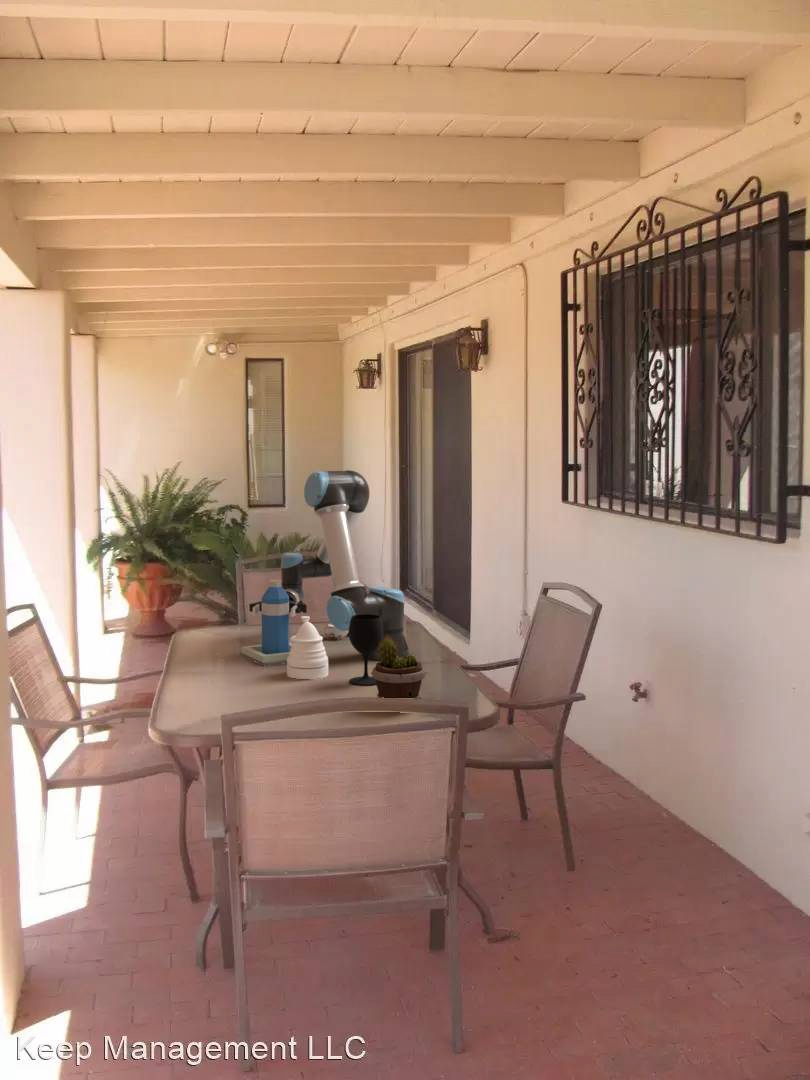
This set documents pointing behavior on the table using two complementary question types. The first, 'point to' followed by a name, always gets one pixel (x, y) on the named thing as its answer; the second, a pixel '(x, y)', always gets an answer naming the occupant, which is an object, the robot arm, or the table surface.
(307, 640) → the honey pot
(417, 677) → the flowerpot
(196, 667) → the table surface
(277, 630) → the water bottle
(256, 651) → the pale green tray
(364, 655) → the wine glass
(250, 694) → the table surface
